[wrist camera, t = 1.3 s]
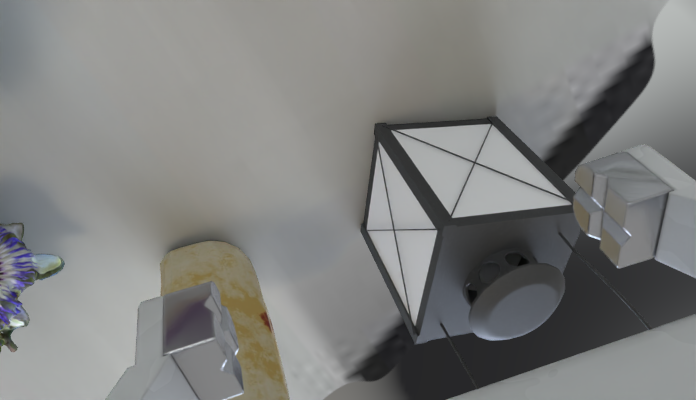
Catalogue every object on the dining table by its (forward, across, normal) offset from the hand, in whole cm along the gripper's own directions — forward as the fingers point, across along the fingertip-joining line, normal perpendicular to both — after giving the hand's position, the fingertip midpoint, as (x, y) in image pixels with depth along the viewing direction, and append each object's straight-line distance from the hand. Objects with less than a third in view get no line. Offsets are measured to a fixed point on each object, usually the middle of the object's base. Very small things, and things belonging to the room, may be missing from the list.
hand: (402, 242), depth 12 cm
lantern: (+30, -9, +22) cm, 39 cm away
